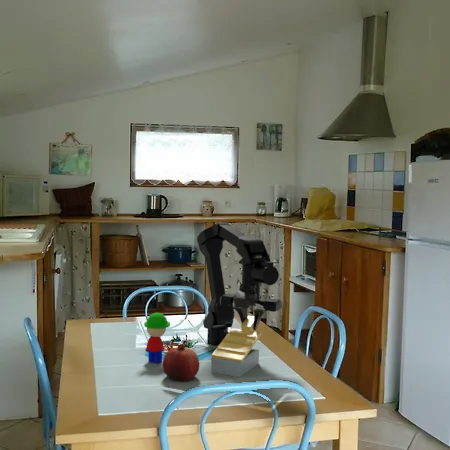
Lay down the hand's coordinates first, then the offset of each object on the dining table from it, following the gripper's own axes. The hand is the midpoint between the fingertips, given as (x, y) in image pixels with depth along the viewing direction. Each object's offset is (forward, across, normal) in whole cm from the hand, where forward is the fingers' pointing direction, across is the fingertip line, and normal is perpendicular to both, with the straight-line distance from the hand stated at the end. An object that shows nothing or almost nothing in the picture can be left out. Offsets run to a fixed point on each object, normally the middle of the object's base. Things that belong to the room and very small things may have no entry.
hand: (249, 329), depth 179 cm
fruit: (+10, -10, -25) cm, 29 cm away
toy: (+10, -25, -14) cm, 30 cm away
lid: (+2, 0, -7) cm, 7 cm away
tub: (+10, 0, -10) cm, 14 cm away
